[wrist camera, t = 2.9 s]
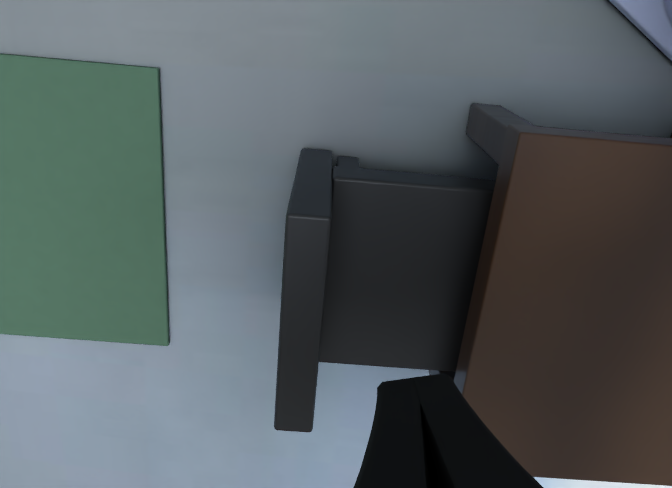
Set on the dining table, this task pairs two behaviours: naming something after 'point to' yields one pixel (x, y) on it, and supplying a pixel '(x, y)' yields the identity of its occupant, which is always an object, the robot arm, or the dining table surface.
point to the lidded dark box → (373, 273)
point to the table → (573, 301)
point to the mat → (82, 201)
